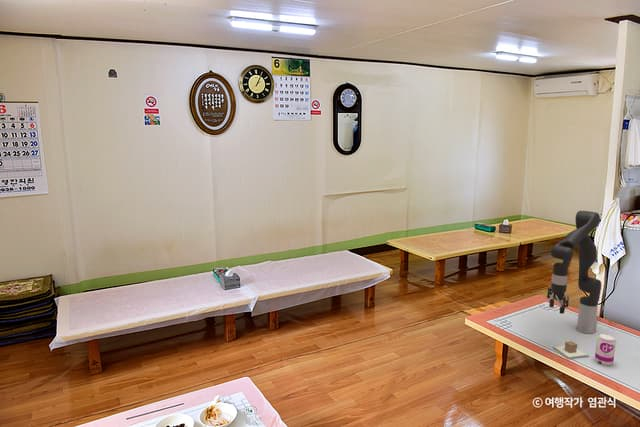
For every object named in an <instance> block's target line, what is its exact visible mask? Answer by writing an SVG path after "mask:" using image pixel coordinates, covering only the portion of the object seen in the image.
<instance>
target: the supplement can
mask: <svg viewBox="0 0 640 427" xmlns="http://www.w3.org/2000/svg"><path fill="white" fill-rule="evenodd" d="M615 337H616V336H615ZM615 337H614V336H613V335H611V334H608V333H599V335H598V336H597V337H596V344H595V346H596V347H595V352H594V362H595V363H597V364H599V365H601V366H606V367H611V366H613V365H614V360H615V359H614V358H615V353H616V344H617V340H616V338H615Z"/></svg>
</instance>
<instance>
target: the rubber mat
mask: <svg viewBox="0 0 640 427" xmlns="http://www.w3.org/2000/svg"><path fill="white" fill-rule="evenodd" d="M554 347H555V346H553V347H551V349H552V350H554V351H556V352H557V353H558V354H560V355H561V356H562V357H564V358H566V359H567V360H575V359H584V358H585V359H586V358H590V356H589V355H588V354H586V355H587V356H585V357H576V358H567V357H566V356H564V355H563V354H562V353H560V352H559V351H557V350H556V349H555V348H554Z"/></svg>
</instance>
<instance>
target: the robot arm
mask: <svg viewBox="0 0 640 427" xmlns="http://www.w3.org/2000/svg"><path fill="white" fill-rule="evenodd" d="M600 221H601V216H600V214H599V213H598V212H596V211H590V210H589V211H588V210H579V211H577V212H576V214H575V227H576V228H575V229H574V230H573V229H572V231H570V232H569V233H568V234H566V235H565V237H564V238H563V239H562V240H560V241H559V242H557V243H556V244H555V245H553V246H552V248H551V250H550V255H551V257H552V258H553V259H554V258H555V259H557V260H562V262H555V263H553V267H552V275H551V282H550V283H551V284H550V288H548V289H547V293H546V298H547V299H548V300H549V304H548V305H549V306H548V308H554V306H555V300H556V301H557V303H558V304H559V314H561V315H563V314H565V309H566V308H569V303H570V302H569V298H570V297H569V295H568V296H566V295H565V293H566V292H567V288H568V273H569V272H568V271H569V266H570V263H571V261H572V260H573V257H574V250H575V248H577V251H578V254H577V255H578V280H577V281H578V282H577V283H578V284H577V285H578V289H579V291H582V292H584V293H588V294H589V296H587V295H586V296H581V297H580V298H579V306H578V314H577V324H576V330H577V331H578V332H580V333H583V334H594V333H595V332H597V328H598V327H597V326H598V325H597V324H598V316H597V313H598V306H599V301H600V296H601V291H602V281H601V280H600V279H597V278H594V277H590V276H589V270H590V268H592V266H593V265H594V264H595V262H596V261H597V258H598V256H597V255H598V252H597V246H596V244H595V242H594V241H593V240H592V238H591V237H590V236H589V235H590V233H591V232H593V231H594V230H595V229H596V228H597V227H598V226H599V224H600Z"/></svg>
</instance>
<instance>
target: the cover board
mask: <svg viewBox="0 0 640 427" xmlns="http://www.w3.org/2000/svg"><path fill="white" fill-rule="evenodd" d="M553 347H554V348H555V349H556V350H557V351H559V352H560V353H562V354H563V355H564V356H566V357H567V358H576V357H585V356H587V355H588V354H587V353H585V352H583V351H582V350H580V349H578V344H577V343H575V342H574V341H572V340H569V341H565V343H564V345H561V346H560V345H559V346H553ZM557 351H556V352H557ZM560 353H559V354H560ZM564 356H563V357H564ZM567 358H566V359H567Z"/></svg>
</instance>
